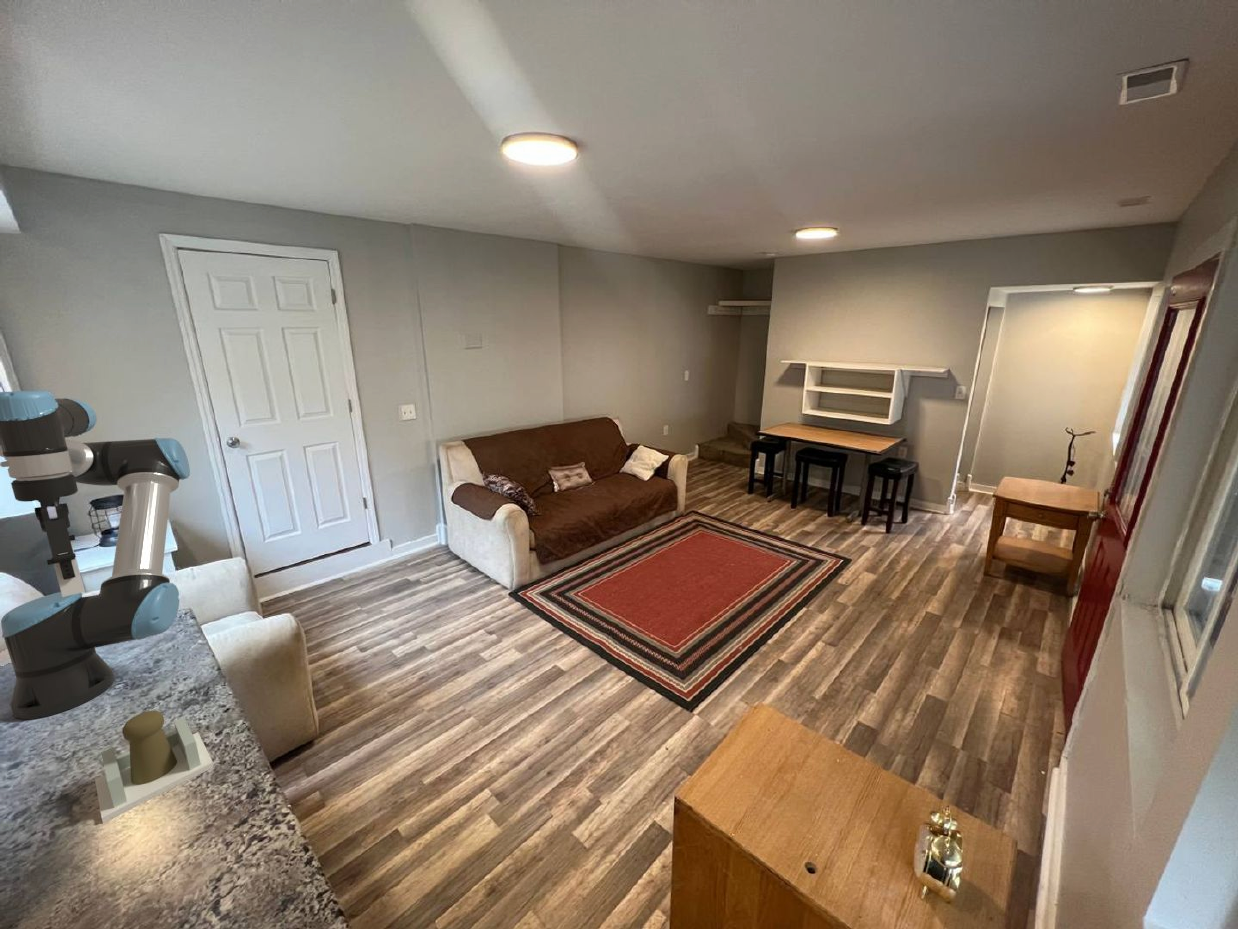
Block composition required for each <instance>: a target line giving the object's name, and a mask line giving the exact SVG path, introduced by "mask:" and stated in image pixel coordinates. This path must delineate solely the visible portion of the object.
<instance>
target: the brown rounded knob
mask: <svg viewBox="0 0 1238 929" xmlns="http://www.w3.org/2000/svg"><path fill="white" fill-rule="evenodd" d="M164 722H165V717H164V715H163V713H162V712H161V711H158V710H147V711H145V712H140V713H139V714H137V715H134V716H133V717H131V718H130V719H128V720H127V721H126V722H125V724H124V725H123V727H122V732H121V733H122V736H123V738H124V739H125V740H126V741H128V742H129V751H130V770H131V783H133V784H134V785H141V784H146V783H149V782H152V781H155V780H157V779H159V778H161V777H162V776H164V775H166V774H167V773H168V772H170V771H171V770H172V769H173V768H174V767H175V766H176V764H177V759H176V757H175V755H174V753H173V751H172V749H171V746H170V744H169V742H168V740H167V738H166V736H165V735H166V734H165V732H164V730H163V726H164Z"/></svg>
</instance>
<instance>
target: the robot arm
mask: <svg viewBox="0 0 1238 929" xmlns="http://www.w3.org/2000/svg"><path fill="white" fill-rule="evenodd" d="M97 418H98V417H97V413H96V412H95V410H94V409H93V407H92V406H90V405H89V404H88V403H86V402H84V401H82V400H78V399H75V398H74V399H73V398H66V397H65V398H55V395H54V394H53V393H52V392H50V391H47V390H18V391H17V390H16V391H15V390H14V391H0V457H2V458H4V460H5V461H1V462H0V467H1V468H7V473H8V476H9V477H10V478H12V479H14V480H12V482H10V484H11V489H12V491H13V495H14V498H15V500H16V501H18V502H28V503H29V502H34V501H35V502H39V504H40V506H37V507H34V513H35V517H36V520H38V521H39V525H40V528H41V531H42V532H44V533H46V535H47V539H48V544H49V548H50V551H51V554H52V557H51V559H47V560H46V562H47V565H48V566H50V565H53V567H54V571H55V574H56V578H57V582H58V584H59V586H58V587H59V588H60V591H58V592H55V593H52V594H48V595H44V596H41V597H38V598H35V599H33V600H30V601H28V602H25V603H23V604H21V605H17V606H16V607H15V608H13V609H11V610H9V611H7V613H5V614H4V615H3V617H2V618H1V620H0V626H1V632H2V634H1V636H2V639H3V640H4V643H5V645H6V649H7V652H8V655H9V659H10V661H11V664H12V667H13V668H12V669H13V671H14V675H15V678H16V679H15V680H16V681H15V685H14V690H13V693H12V699H11V702H10V708H11V711H12V715H13V717H14V718H16V719H18V720H19V719H20V720H34V719H40V718H43V717H44V718H45V717H49V716H53V715H56V714H60V713H62V712H65V711H68V710H71V709H73V708H76V707H78V706H81V705H83V704H84V703H87V702H89V701H91V700H93V699H95V698H96V697H98V696H100V695H101V694H103V693H104V692H105V691H107V690H109V688H110V687H111V686H112V685H113V684H114V682H115V680H116V679H115V674H114V672H113V669H112V668H111V667H110V666H109V664H107V663H106V661H104V659H103V658H102V657H101V656H100V655H99V654H98V653H97V650H96V648H99V647H101V648H102V647H105V646H110V645H116V644H121V643H125V642H130V641H136V640H137V641H138V640H139V641H140V640H143V639H147V638H150V637H152V636H153V637H154V636H157V635H158V636H159V635H161V634H163V633H165V632H167V631H168V630H169V628H171V626H173V623H174V622H175V621H176V618H177V615H178V612H179V607H180V598H179V595H180V593H179V592H180V591H179V588H178V587H177V585H175V584H174V583H172V582H171V580H170V577H168V576H166V575H165V574H164V573H163V568H164V557H165V551H166V550H165V548H166V539H167V529H168V519H169V510H170V509H169V508H170V499H171V493H173V492H176V490H177V489H178V488H179V486H180V485H179V484H180V480H185V479H189V477H190V474H191V471H190V470H191V469H190V463H189V459H188V456H187V453H186V451H185V449H184V447H183V446H182V444H181V443H180V441H178V440H177V439H176V438H173V437H172V438H170V437H169V438H168V437H166V438H165V437H164V438H160V437H159V438H158V437H154V438H148V439H147V438H146V439H145V438H144V439H130V440H129V439H128V440H114V441H113V440H112V441H110V440H107V441H95V442H93V441H91V442H81V441H79V440H74V439H66V438H70V437H74V438H75V437H79V435H80V436H82V435H83V434H85V433H87V432H89V431H91V430H92V429H93V428H94V427H95V426H96V424H97ZM77 483H78V484H83V485H89V486H92V485H93V486H105V487H106V486H107V487H108V486H110V487H111V486H117V487H118V488H119V490H121V491H123V497H122V498H123V499H122V505H121V512H120V519H119V524H118V531H117V532H118V533H117V538H116V539H117V540H116V546H115V553H114V559H113V566H112V574H111V576H110V577H109V578H107V579H105V580H103V581H102V583H101V584H100V589H99V593H98V594H94V595H89V596H83V593H85V588H84V584H83V580H82V576H81V572H80V569H79V565H78V561H77V556H76V553H75V550H74V547H73V543H72V541H76V536H75V534H71V535H70V531H68V529H69V528H70V527H71V523H70V519H69V515H70V511H69V506H68V503H66V502H65V503H61V502H60V499H61V498H63V497H69V496H72V495H75V494H77V493H78V491H79V488H78V484H77Z"/></svg>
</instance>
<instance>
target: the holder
mask: <svg viewBox="0 0 1238 929" xmlns="http://www.w3.org/2000/svg"><path fill="white" fill-rule="evenodd" d="M173 724H174V727H175V728H174V729H175V730H173V731H171V732H168V733H166V734H165V736H166V738H167V740H168V742H169V744H170V746H171V749H172V751H173V753H174V755H175V757H176V759H177V764H176V766H175V767H174V768H173V769H172V770H171V771H170V772H168V773H167V774H166V775H164V776H162V777H161V778H159V779H157V780H155V781H152V782H149V783H146V784H141V785H134V784H133V783H131V770H130V750H128V751H126V752H124V753H121V754H119V755H117V756H116V751H115V748H114V746H112V747H110V748H108V749H105V750H103V751H100V753H101V759H102V762H103V767H104V768H103V769H104V772H105V774H103V775H100V776H98V777H96V778H94V781H95V782H94V783H95V787H96V793H97V800H98V806H99V811H100V816H101V821H102V823H103V824H105V823H106V822H108V821H110V820H113V819H114V818H116V817H118V816H120V815H122V814H124V813H126V812H127V811H128V812H129V811H130V810H132V809H134V808H136V807H138V806H140V805H141V804H143V803H146V802H147V801H149V800H152V799H154V798H155V797H157V796H160V795H161V794H164V793H165V792H167V791H170V790H171V789H173V788H175V787H177V786H179V785H181V784H183V783H185V782H187V781H189V780H191V779H192V778H195V777H196V776H199V775H201V774H203V773H205V772H206V771H209V770H211V769H213V768H215V767H214V765H215V764H214V762H213V760H212V758H211V755H210V754H209V752H208V750H207V748H206V745H205V743H204V741H203V739H202V737H201V735H200V733H199V732H198V731H197V732H195V733H192V730H191V729H190V726H189V724H188V722H187V720H186V717H185V716H182V717H180V718H177V719H175V720H173Z"/></svg>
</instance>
